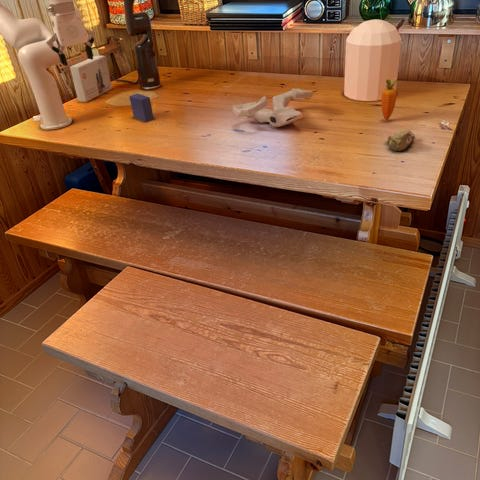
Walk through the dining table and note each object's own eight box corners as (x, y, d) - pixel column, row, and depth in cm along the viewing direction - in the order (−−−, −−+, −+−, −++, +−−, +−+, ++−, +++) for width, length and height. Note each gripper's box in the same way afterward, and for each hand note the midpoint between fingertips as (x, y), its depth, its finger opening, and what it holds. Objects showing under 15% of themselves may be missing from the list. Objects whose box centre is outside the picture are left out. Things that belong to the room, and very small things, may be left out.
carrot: (394, 118, 167) (398, 76, 158) (393, 123, 163) (397, 80, 154) (379, 117, 168) (383, 75, 160) (378, 122, 165) (382, 80, 156)
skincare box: (87, 102, 214) (77, 67, 204) (78, 102, 215) (68, 66, 206) (113, 88, 229) (105, 54, 220) (104, 88, 231) (96, 54, 222)
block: (145, 121, 186) (141, 99, 181) (133, 117, 191) (128, 96, 186) (154, 118, 188) (149, 97, 183) (141, 114, 194) (137, 93, 189)
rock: (408, 140, 153) (379, 139, 152) (414, 122, 149) (384, 120, 148) (421, 154, 144) (391, 153, 143) (428, 135, 140) (396, 133, 139)
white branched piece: (230, 133, 167) (227, 101, 161) (244, 110, 188) (241, 81, 182) (308, 133, 161) (308, 99, 155) (313, 109, 182) (314, 78, 176)
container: (365, 104, 181) (370, 27, 165) (333, 91, 197) (335, 20, 181) (407, 93, 187) (416, 18, 171) (373, 81, 203) (378, 12, 188)
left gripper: (42, 14, 147) (59, 69, 157) (91, 4, 156) (105, 57, 165) (33, 13, 152) (50, 66, 162) (82, 4, 161) (95, 55, 170)
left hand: (78, 62), depth 164 cm, fingers open, 9 cm apart
